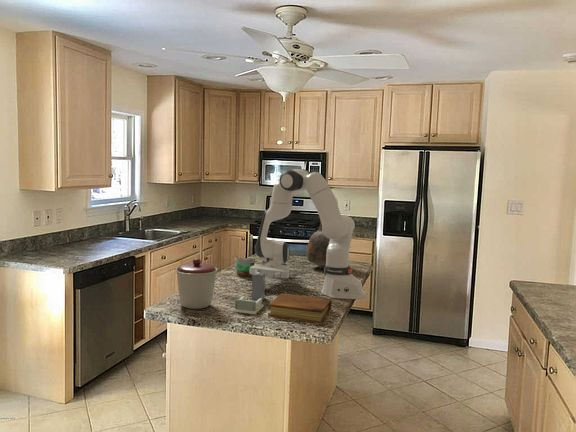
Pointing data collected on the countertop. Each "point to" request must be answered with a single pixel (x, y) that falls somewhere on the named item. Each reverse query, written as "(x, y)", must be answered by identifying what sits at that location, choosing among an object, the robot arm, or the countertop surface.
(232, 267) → the countertop surface
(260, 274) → the grey block with knob
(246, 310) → the pocket
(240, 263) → the food container
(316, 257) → the jug
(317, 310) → the diary
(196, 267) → the canister
